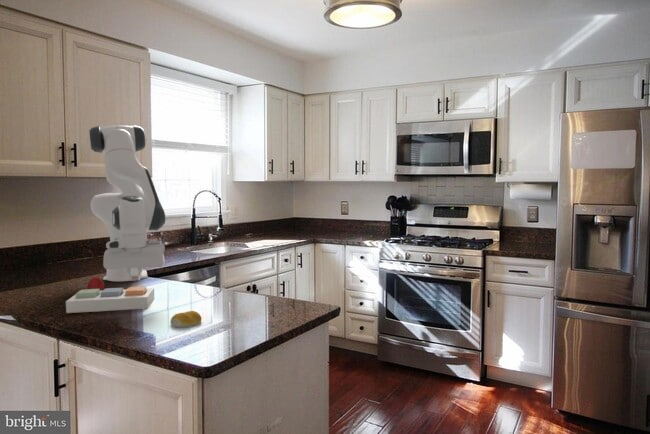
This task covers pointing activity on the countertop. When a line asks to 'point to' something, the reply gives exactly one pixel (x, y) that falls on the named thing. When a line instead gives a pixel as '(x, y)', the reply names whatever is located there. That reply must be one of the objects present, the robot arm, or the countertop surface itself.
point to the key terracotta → (135, 291)
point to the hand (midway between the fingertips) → (135, 280)
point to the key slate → (112, 292)
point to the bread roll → (185, 319)
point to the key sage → (88, 293)
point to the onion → (96, 283)
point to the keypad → (110, 302)
